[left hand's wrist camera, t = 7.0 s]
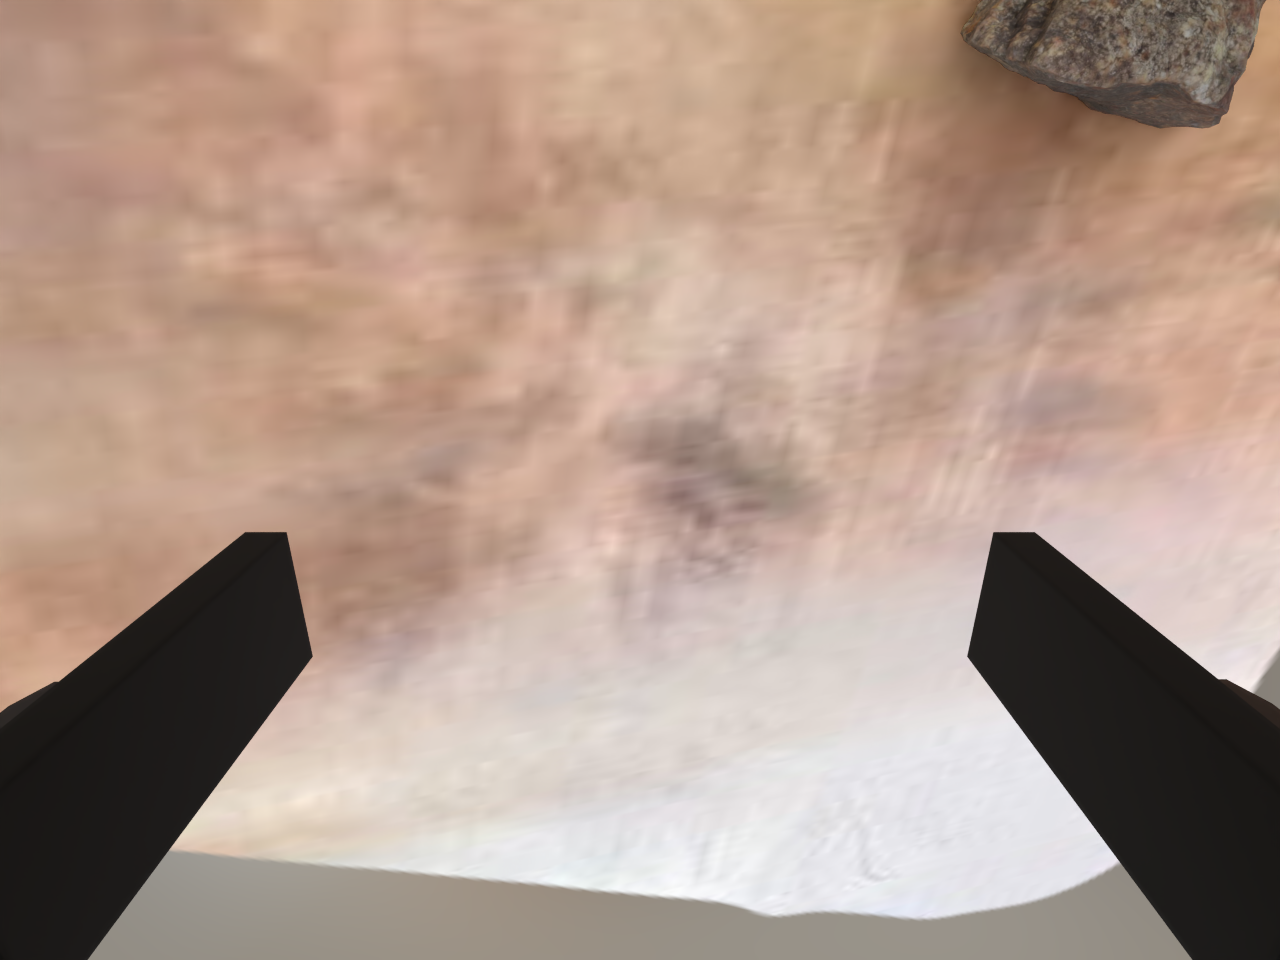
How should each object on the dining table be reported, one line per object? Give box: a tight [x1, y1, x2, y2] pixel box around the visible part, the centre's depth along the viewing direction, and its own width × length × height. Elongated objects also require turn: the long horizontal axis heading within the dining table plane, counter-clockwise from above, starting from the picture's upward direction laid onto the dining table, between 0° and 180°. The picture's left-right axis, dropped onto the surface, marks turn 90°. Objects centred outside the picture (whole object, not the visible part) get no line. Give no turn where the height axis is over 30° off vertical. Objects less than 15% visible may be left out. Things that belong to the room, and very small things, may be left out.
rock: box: [961, 0, 1266, 128], centre depth 30 cm, size 14×9×10 cm
